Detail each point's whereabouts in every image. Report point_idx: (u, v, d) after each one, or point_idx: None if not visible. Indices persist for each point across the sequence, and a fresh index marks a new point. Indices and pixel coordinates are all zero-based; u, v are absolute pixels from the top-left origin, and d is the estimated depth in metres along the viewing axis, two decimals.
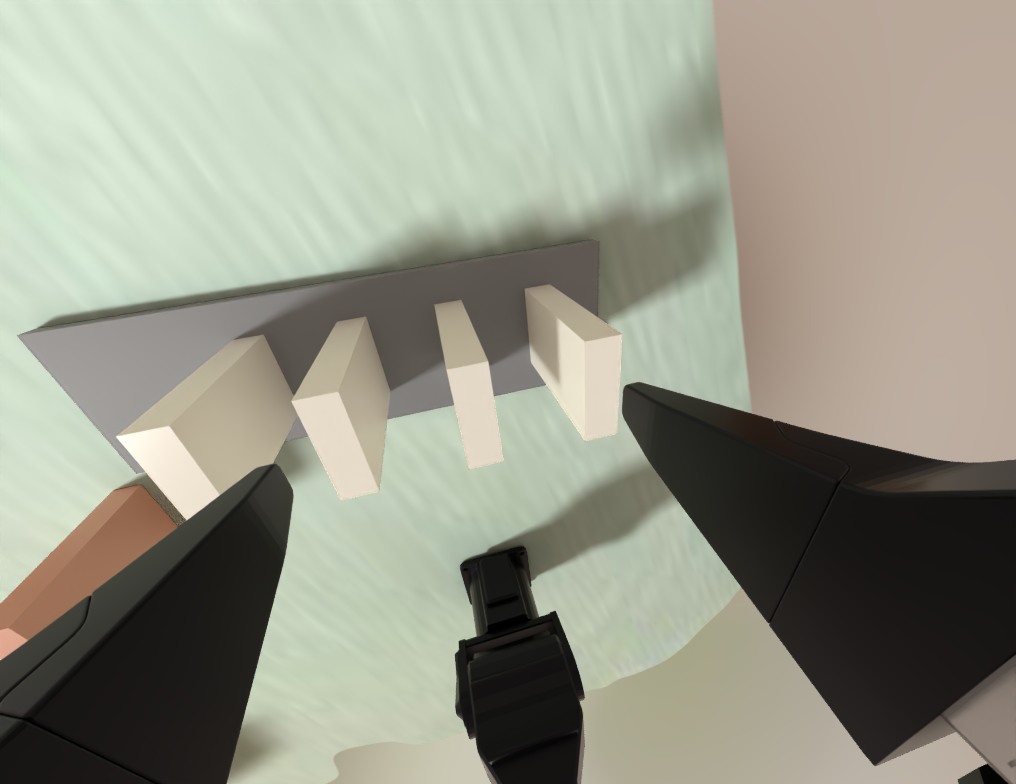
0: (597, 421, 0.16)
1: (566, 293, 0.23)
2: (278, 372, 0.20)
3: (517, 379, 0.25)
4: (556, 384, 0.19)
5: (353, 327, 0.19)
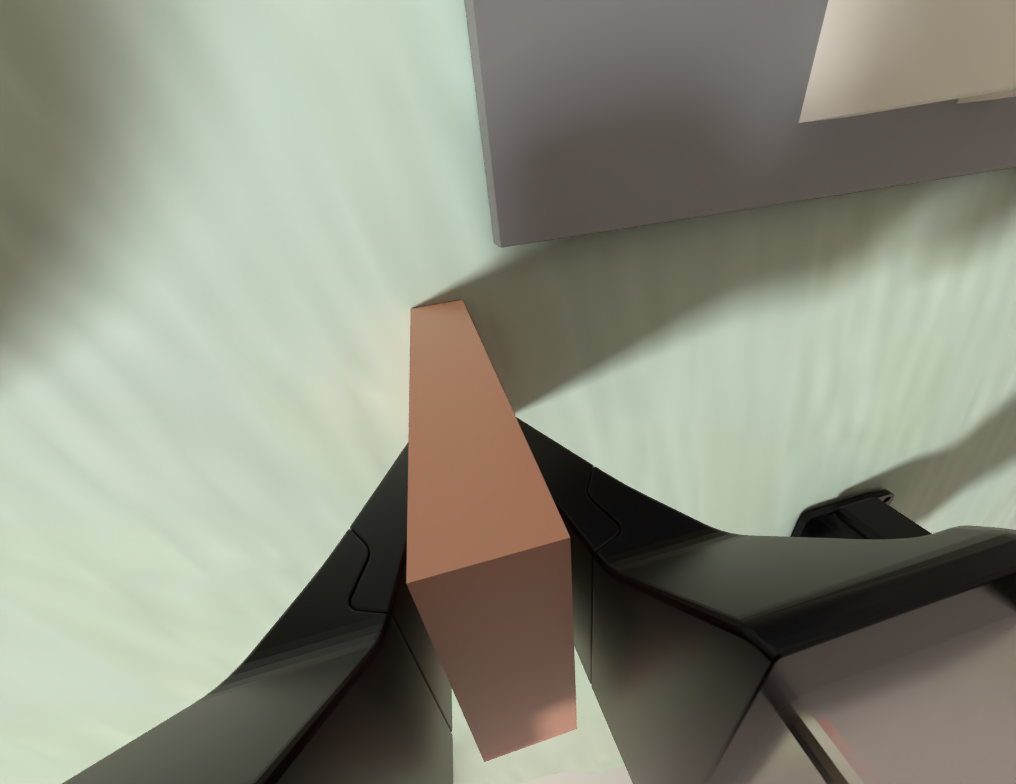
0: None
1: None
2: None
3: None
4: None
5: None
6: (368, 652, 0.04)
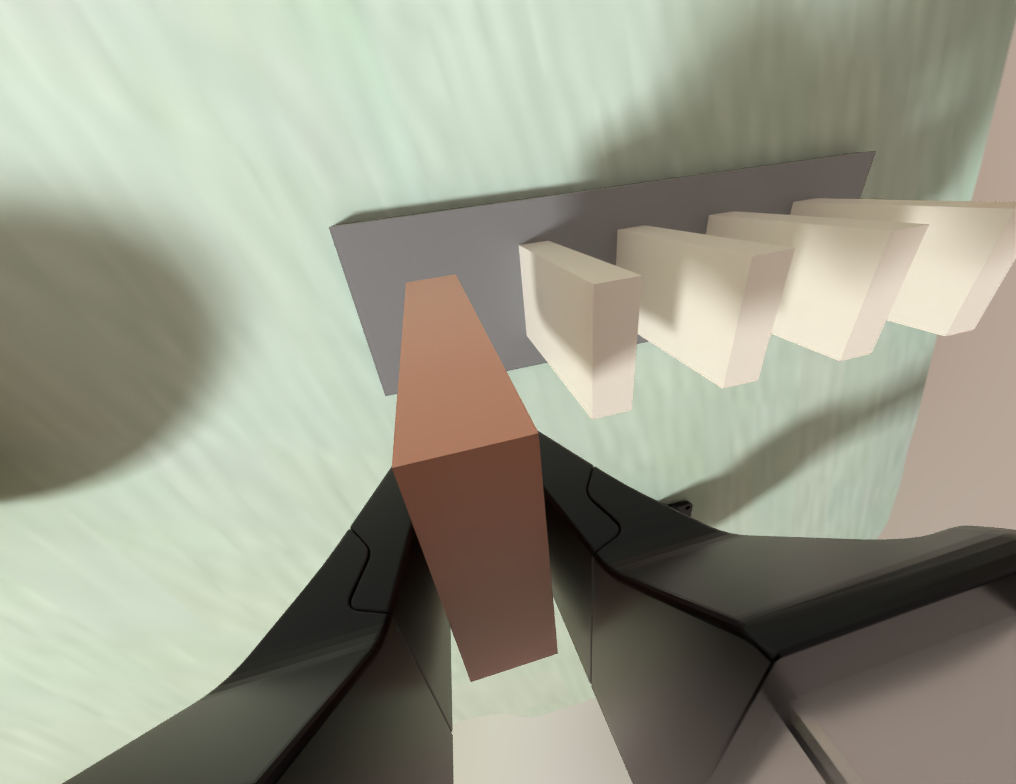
0: (967, 312, 0.15)
1: None
2: None
3: None
4: None
5: (654, 229, 0.18)
6: (368, 652, 0.04)
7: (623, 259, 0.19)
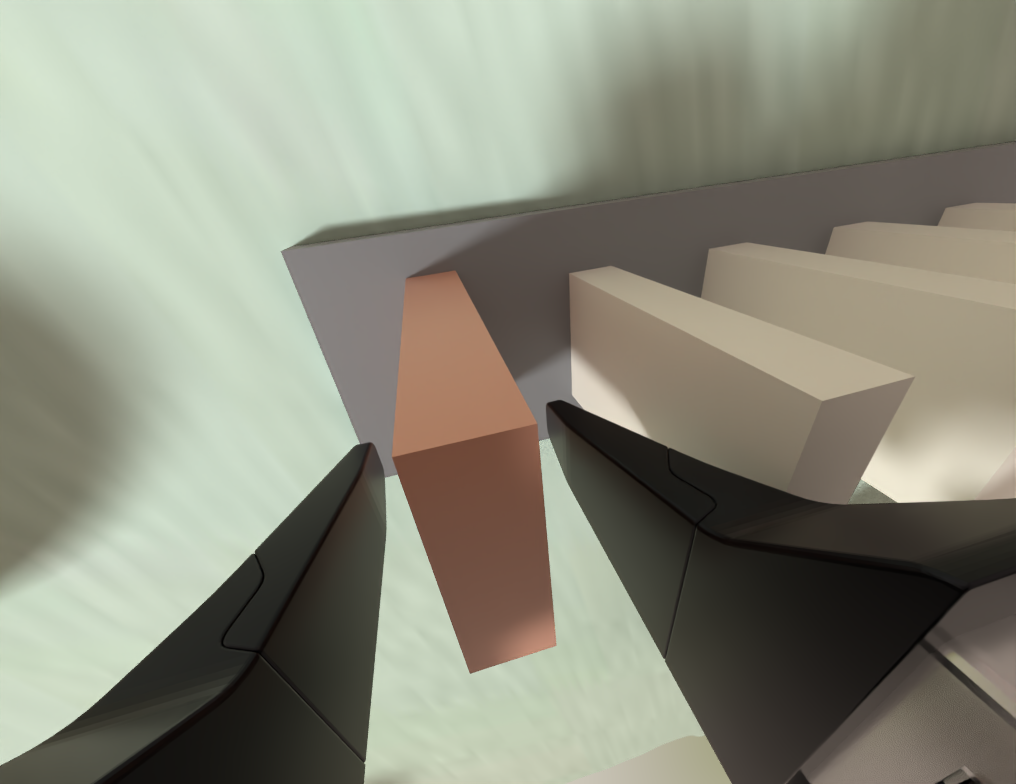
0: None
1: None
2: None
3: None
4: None
5: (773, 250, 0.12)
6: (212, 699, 0.03)
7: (717, 291, 0.13)
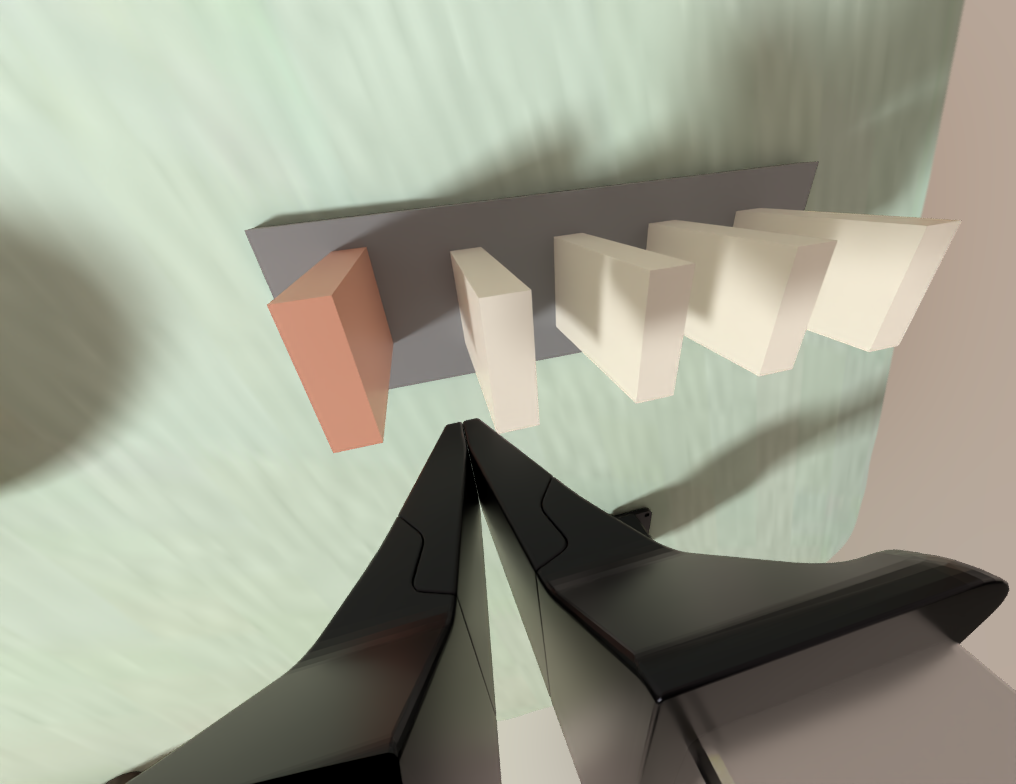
0: (890, 328, 0.15)
1: None
2: None
3: None
4: None
5: (586, 237, 0.18)
6: (445, 629, 0.04)
7: (559, 267, 0.19)
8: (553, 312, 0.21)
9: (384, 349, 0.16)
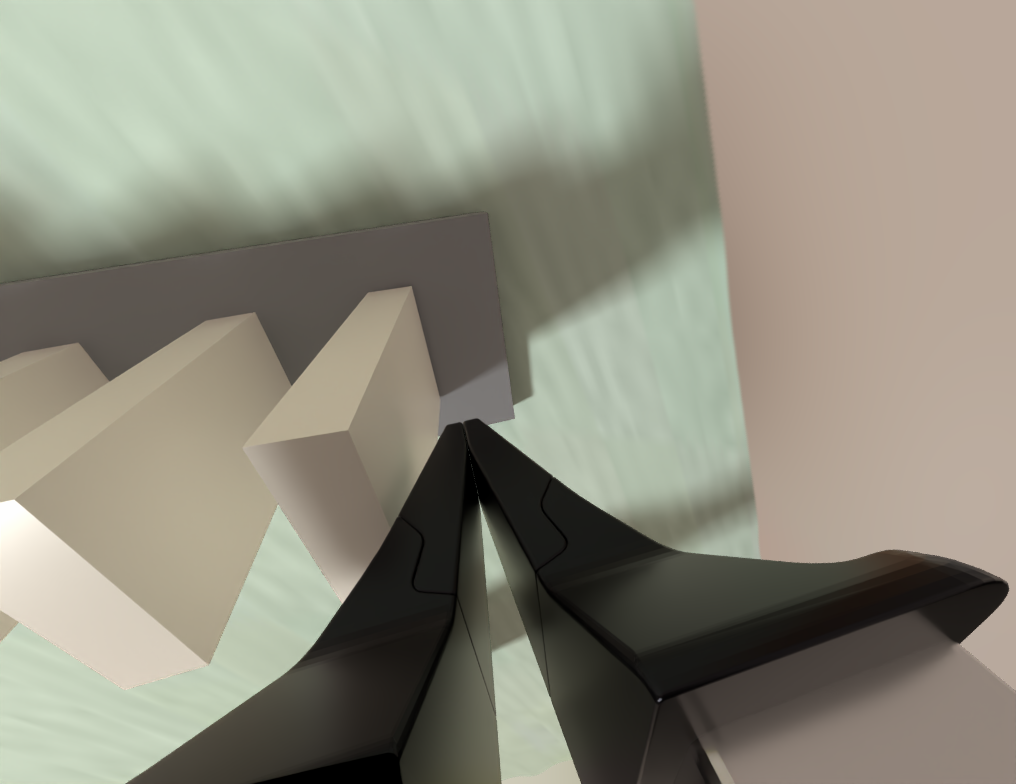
0: None
1: (444, 299, 0.14)
2: None
3: None
4: None
5: (14, 366, 0.10)
6: (444, 630, 0.04)
7: None
8: None
9: None
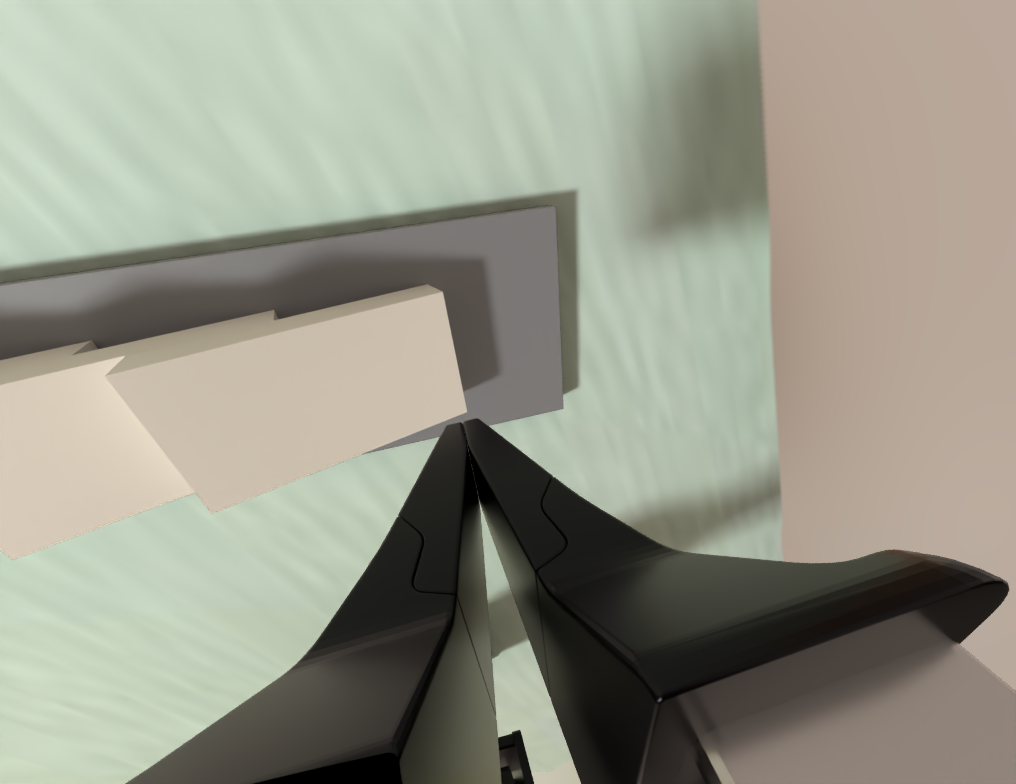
0: None
1: (508, 290, 0.14)
2: None
3: None
4: None
5: (2, 367, 0.10)
6: (444, 629, 0.04)
7: None
8: None
9: None
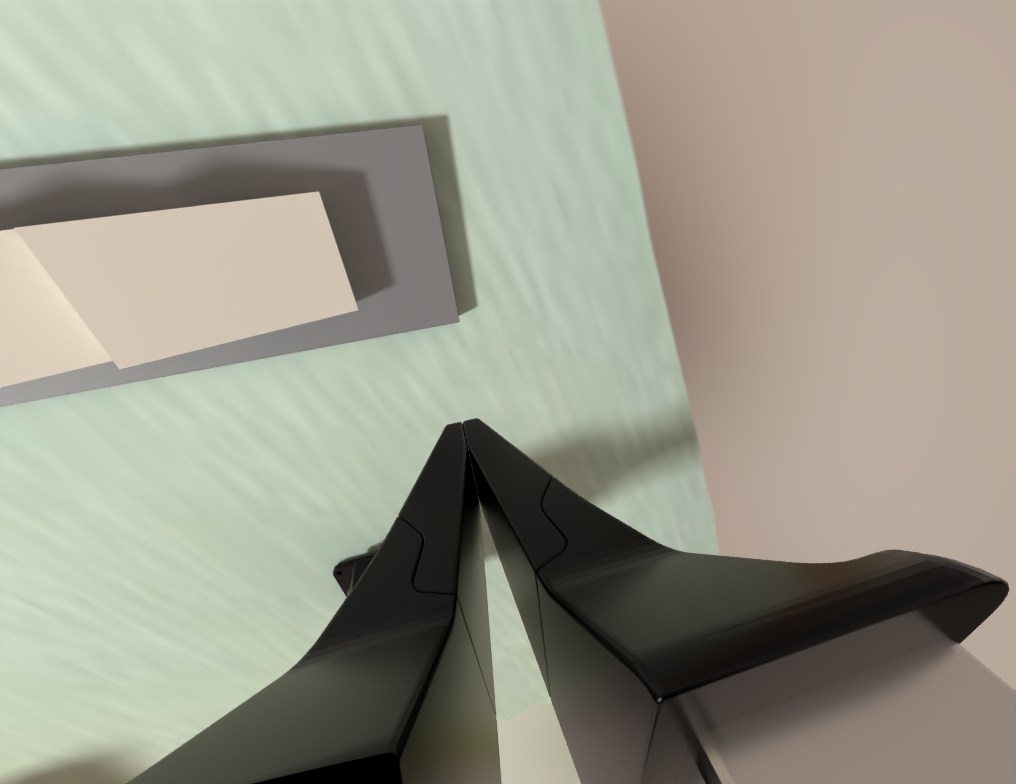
0: None
1: (390, 202, 0.17)
2: None
3: (346, 325, 0.19)
4: None
5: None
6: (445, 629, 0.04)
7: None
8: None
9: None
